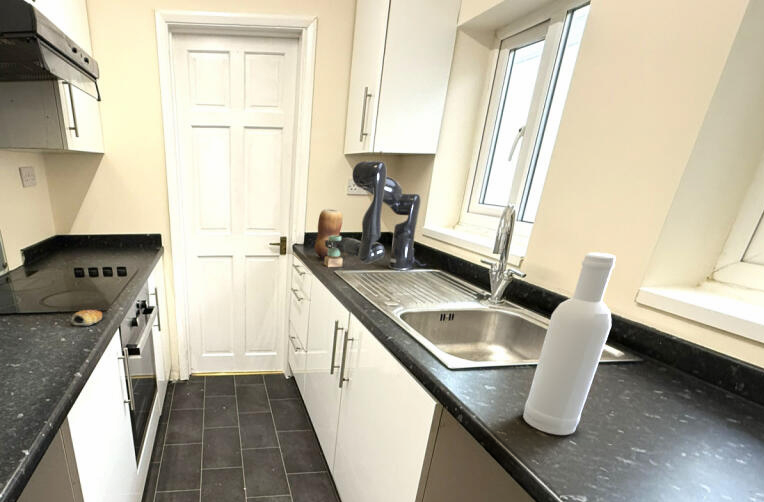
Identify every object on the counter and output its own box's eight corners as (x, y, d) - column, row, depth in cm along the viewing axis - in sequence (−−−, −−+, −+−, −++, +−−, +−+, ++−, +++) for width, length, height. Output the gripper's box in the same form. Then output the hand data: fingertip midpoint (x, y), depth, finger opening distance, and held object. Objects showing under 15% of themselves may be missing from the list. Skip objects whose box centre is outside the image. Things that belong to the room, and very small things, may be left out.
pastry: (91, 315, 129) (89, 304, 128) (109, 318, 127) (107, 306, 126) (69, 325, 121) (67, 312, 119) (88, 328, 119) (86, 315, 117)
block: (337, 264, 203) (338, 256, 201) (342, 266, 197) (342, 258, 196) (324, 264, 202) (324, 256, 200) (328, 267, 196) (328, 258, 195)
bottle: (557, 411, 77) (609, 250, 65) (586, 436, 69) (650, 259, 58) (513, 410, 77) (557, 249, 66) (537, 435, 70) (591, 259, 59)
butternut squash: (339, 262, 207) (343, 210, 198) (313, 261, 209) (315, 210, 200) (339, 257, 220) (343, 208, 210) (314, 256, 222) (317, 208, 212)
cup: (337, 254, 201) (339, 235, 197) (341, 256, 195) (343, 237, 192) (325, 254, 200) (327, 235, 197) (329, 256, 194) (331, 237, 191)
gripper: (365, 237, 184) (345, 233, 198) (336, 239, 179) (319, 234, 194) (363, 254, 186) (344, 249, 201) (335, 256, 182) (318, 250, 197)
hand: (332, 242), depth 197 cm, fingers closed on cup, 6 cm apart
